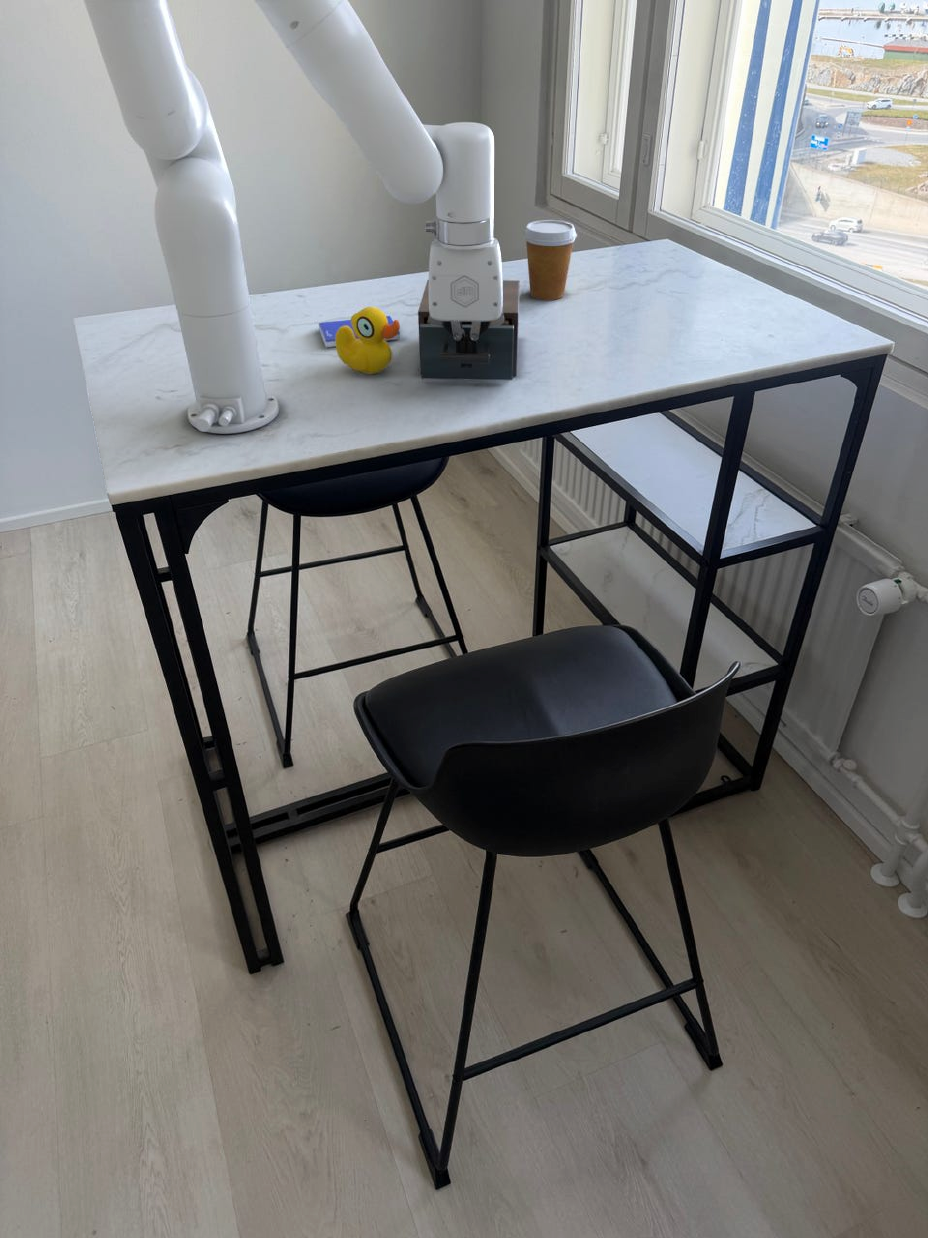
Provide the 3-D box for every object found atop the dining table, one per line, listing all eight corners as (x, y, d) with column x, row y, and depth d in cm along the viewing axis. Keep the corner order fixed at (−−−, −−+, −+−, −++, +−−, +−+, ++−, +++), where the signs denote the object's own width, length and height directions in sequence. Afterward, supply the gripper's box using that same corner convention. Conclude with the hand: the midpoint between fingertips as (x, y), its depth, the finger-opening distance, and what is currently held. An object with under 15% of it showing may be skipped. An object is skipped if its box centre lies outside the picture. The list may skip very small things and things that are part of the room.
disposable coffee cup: (574, 302, 158) (579, 233, 151) (522, 303, 158) (524, 233, 151) (570, 286, 166) (574, 219, 158) (520, 286, 166) (522, 219, 158)
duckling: (410, 372, 134) (407, 307, 128) (392, 385, 131) (388, 319, 125) (350, 359, 139) (344, 296, 132) (330, 371, 135) (323, 306, 129)
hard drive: (325, 339, 141) (399, 331, 144) (318, 321, 147) (389, 314, 150) (326, 348, 142) (400, 340, 145) (319, 330, 148) (390, 323, 151)
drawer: (511, 394, 125) (512, 341, 120) (418, 393, 126) (415, 340, 121) (513, 345, 140) (515, 296, 135) (430, 344, 141) (428, 295, 136)
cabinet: (516, 376, 133) (518, 312, 127) (420, 374, 134) (417, 311, 127) (517, 340, 144) (519, 280, 138) (429, 339, 145) (427, 279, 139)
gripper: (405, 238, 112) (413, 374, 124) (521, 238, 111) (518, 374, 123) (411, 222, 118) (418, 353, 129) (521, 222, 117) (518, 354, 129)
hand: (466, 363), depth 126 cm, fingers closed
